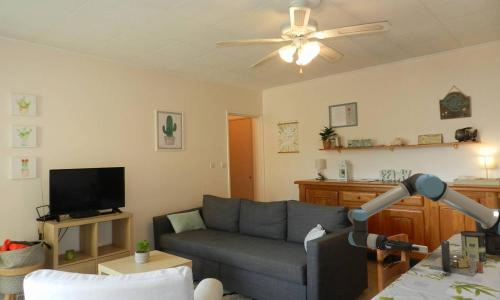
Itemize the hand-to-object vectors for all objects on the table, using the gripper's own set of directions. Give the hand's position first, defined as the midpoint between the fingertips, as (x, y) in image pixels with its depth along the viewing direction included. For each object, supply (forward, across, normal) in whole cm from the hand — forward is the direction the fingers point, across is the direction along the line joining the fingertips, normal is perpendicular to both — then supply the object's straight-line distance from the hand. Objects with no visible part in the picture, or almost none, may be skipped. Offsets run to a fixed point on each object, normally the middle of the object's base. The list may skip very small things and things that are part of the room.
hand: (427, 249), depth 157 cm
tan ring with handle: (+8, -9, -8) cm, 14 cm away
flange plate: (+9, -14, -10) cm, 19 cm away
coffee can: (+12, -30, -10) cm, 34 cm away
